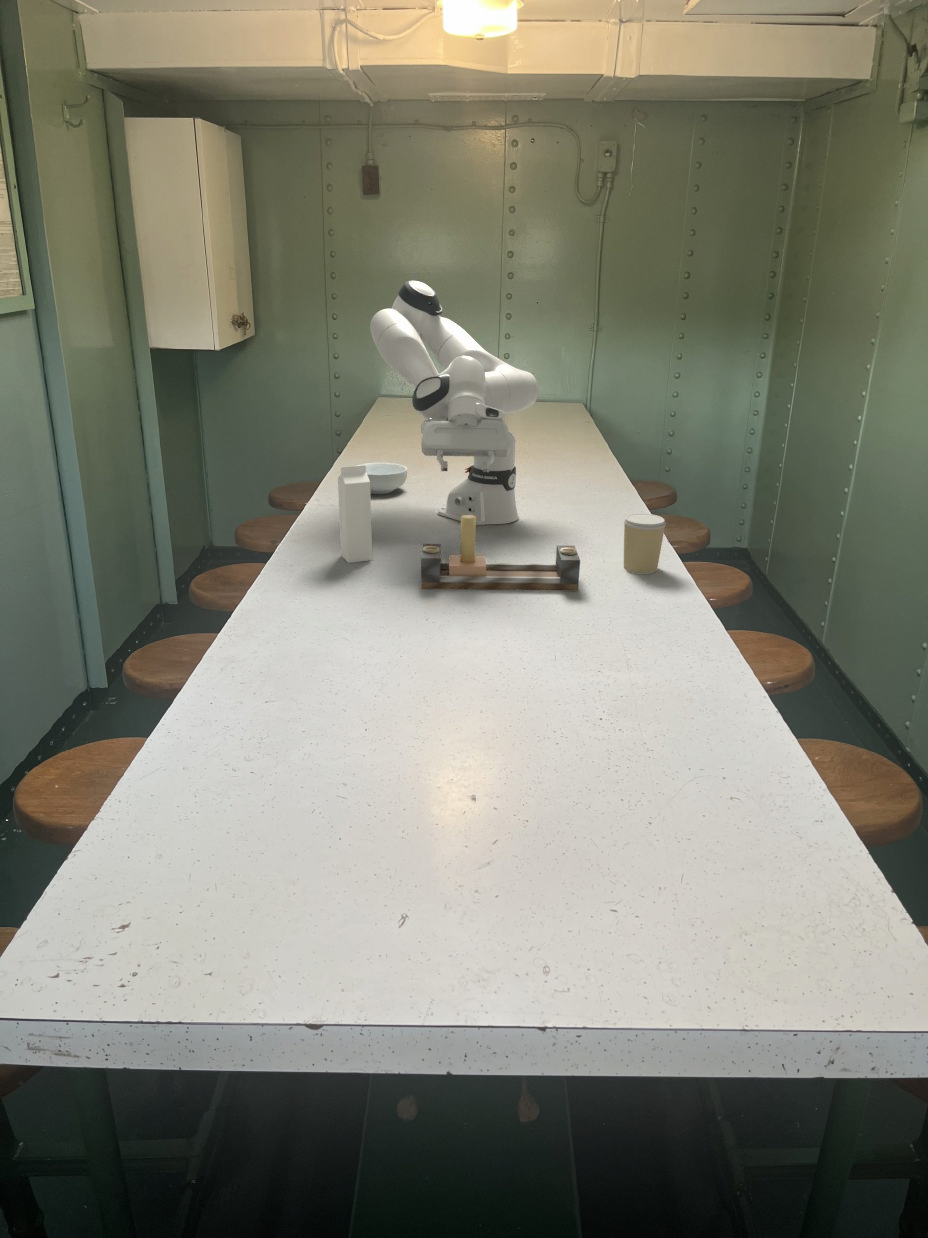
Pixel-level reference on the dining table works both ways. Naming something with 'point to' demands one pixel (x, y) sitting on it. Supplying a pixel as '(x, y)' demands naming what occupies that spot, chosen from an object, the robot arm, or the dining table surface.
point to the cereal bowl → (385, 477)
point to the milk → (355, 514)
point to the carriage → (467, 552)
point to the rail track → (504, 573)
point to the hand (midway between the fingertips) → (465, 470)
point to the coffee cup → (642, 542)
